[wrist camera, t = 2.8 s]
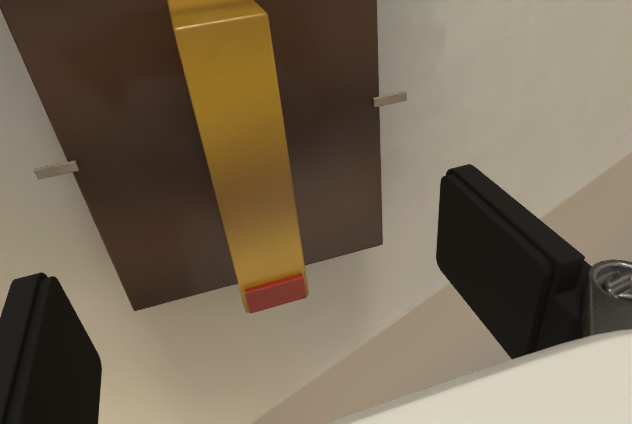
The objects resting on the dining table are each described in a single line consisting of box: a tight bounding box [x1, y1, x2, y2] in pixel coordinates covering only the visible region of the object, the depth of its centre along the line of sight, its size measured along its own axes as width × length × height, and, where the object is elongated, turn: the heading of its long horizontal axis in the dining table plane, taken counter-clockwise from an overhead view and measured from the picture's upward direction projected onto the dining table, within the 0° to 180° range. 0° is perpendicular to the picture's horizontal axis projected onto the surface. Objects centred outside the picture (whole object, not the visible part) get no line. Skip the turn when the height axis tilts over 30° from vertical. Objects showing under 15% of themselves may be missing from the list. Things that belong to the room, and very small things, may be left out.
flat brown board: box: [0, 0, 406, 311], centre depth 20 cm, size 15×14×3 cm
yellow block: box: [167, 0, 309, 313], centre depth 17 cm, size 10×2×5 cm, turn 6°
